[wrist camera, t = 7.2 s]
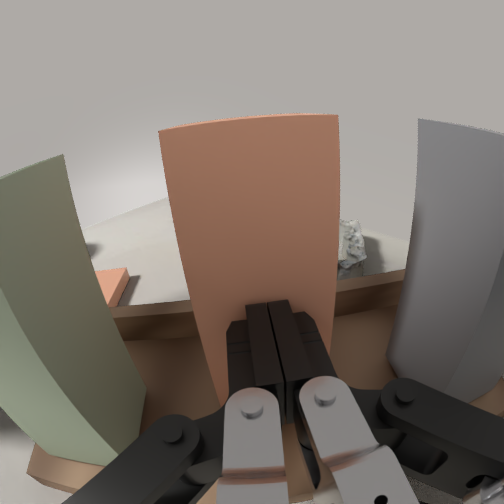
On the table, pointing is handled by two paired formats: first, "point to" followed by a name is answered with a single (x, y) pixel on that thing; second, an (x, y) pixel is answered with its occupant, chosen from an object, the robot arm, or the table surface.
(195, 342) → the walnut tray
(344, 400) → the robot arm
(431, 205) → the charcoal block
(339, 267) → the egg carton
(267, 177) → the terracotta block
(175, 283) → the table surface
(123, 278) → the terracotta tile
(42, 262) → the sage block
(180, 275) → the table surface
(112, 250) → the table surface
